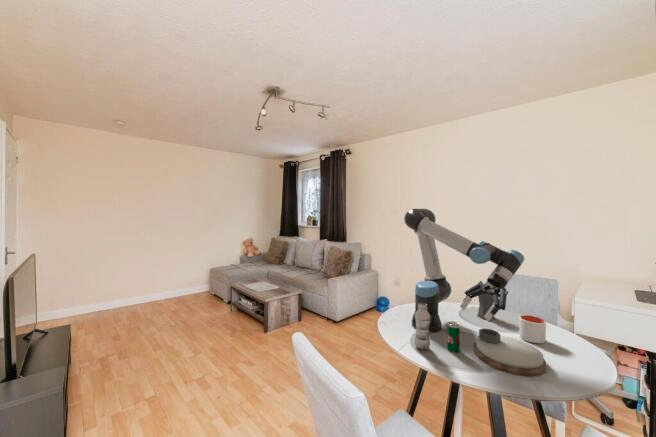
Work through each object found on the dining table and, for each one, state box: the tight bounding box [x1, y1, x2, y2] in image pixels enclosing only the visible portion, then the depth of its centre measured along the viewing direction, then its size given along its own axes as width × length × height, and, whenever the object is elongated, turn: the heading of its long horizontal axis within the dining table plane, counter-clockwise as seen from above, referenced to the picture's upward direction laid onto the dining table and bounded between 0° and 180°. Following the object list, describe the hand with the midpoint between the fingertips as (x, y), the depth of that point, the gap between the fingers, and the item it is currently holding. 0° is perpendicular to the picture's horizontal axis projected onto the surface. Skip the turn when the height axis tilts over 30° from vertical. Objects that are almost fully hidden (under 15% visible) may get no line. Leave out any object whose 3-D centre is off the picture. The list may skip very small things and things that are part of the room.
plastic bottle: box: [414, 303, 431, 351], centre depth 118 cm, size 6×7×20 cm
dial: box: [475, 328, 544, 369], centre depth 111 cm, size 25×23×5 cm
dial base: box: [473, 341, 547, 377], centre depth 111 cm, size 25×25×2 cm
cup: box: [518, 314, 547, 344], centre depth 127 cm, size 10×10×10 cm
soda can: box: [446, 321, 461, 354], centre depth 117 cm, size 5×5×12 cm
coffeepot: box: [477, 289, 501, 321], centre depth 153 cm, size 15×9×18 cm, turn 37°
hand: (473, 313), depth 119 cm, fingers open, 13 cm apart
